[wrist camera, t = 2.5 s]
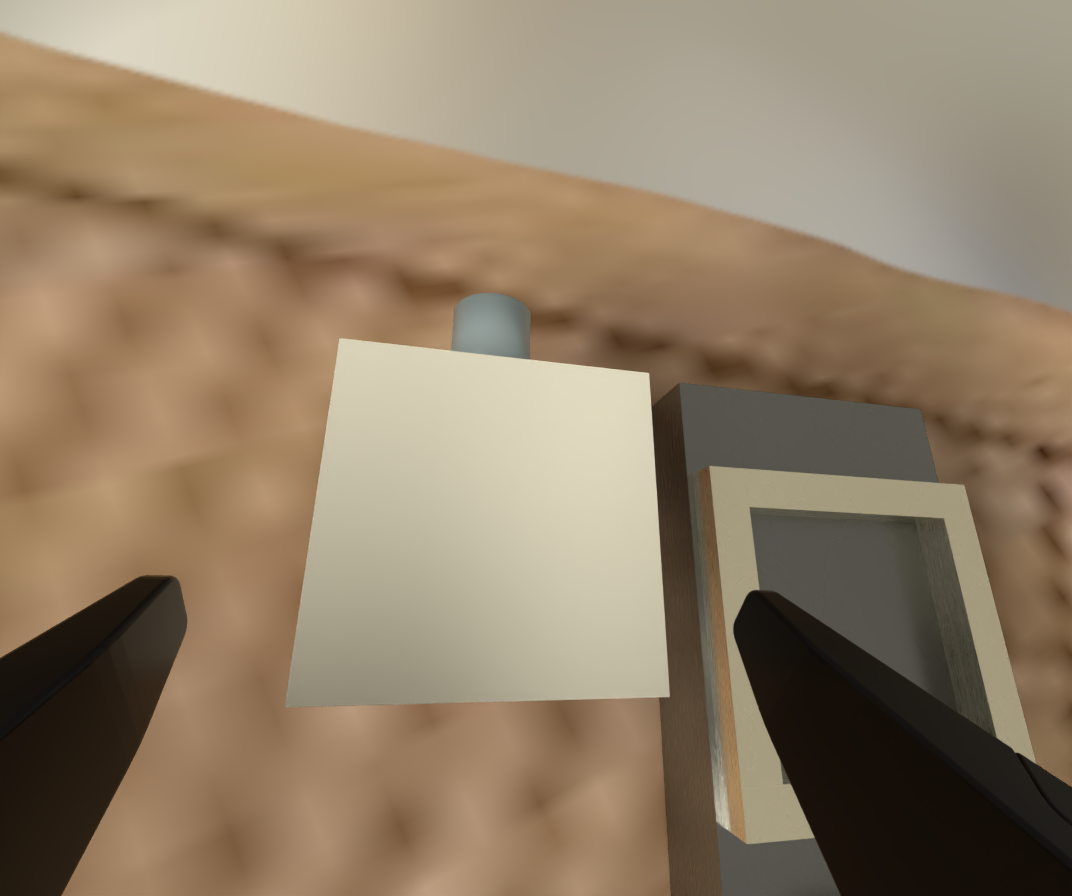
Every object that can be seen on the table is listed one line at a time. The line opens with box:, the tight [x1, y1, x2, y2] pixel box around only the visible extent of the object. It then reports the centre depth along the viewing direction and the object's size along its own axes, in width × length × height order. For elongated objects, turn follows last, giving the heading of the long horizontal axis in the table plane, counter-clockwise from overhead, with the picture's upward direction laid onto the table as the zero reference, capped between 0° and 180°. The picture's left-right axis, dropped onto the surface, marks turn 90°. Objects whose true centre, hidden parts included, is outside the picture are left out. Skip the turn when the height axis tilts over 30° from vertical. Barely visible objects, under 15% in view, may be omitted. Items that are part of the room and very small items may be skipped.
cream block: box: [285, 293, 670, 707], centre depth 12 cm, size 7×5×10 cm
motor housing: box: [651, 383, 1036, 896], centre depth 15 cm, size 22×10×6 cm, turn 179°
